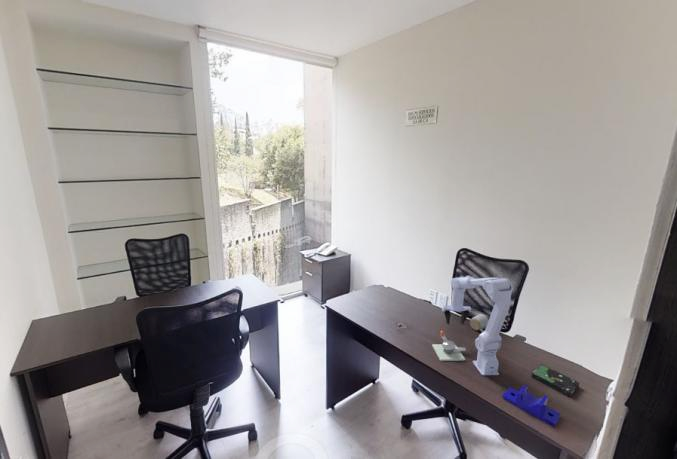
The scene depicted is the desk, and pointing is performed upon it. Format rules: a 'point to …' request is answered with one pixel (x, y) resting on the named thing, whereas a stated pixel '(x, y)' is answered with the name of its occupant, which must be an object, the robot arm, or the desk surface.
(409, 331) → the desk surface
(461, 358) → the base
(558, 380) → the disk drive
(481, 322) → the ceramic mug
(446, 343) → the key lever
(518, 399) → the mounting bracket
